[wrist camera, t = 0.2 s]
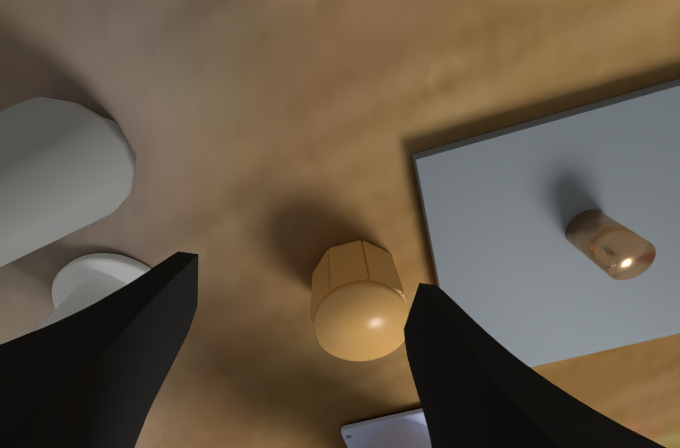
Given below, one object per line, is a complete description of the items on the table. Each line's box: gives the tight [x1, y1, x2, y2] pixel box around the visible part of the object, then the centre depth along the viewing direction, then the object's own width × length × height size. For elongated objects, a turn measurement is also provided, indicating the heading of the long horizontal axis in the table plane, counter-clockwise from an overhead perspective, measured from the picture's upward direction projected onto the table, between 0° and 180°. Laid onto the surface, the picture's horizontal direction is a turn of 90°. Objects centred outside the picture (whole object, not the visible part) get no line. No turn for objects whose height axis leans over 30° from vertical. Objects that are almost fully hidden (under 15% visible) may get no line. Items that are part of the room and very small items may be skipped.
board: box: [412, 79, 680, 367], centre depth 23 cm, size 18×16×1 cm
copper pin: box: [565, 210, 656, 280], centre depth 20 cm, size 2×2×4 cm
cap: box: [311, 240, 409, 361], centre depth 21 cm, size 5×5×4 cm
